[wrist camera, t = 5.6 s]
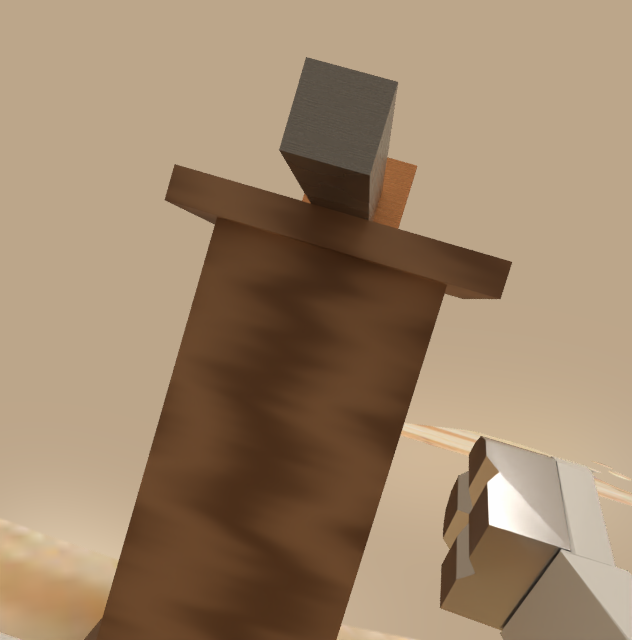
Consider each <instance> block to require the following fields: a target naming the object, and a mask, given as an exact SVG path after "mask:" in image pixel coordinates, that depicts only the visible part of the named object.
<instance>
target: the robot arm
mask: <svg viewBox="0 0 632 640" xmlns="http://www.w3.org/2000/svg"><path fill="white" fill-rule="evenodd" d="M443 539H444V541H445V542H446V544H447V546H448V547H449V549H450V550H449V552H448V554H447V556H446V558H445V560H444V562H443V564H442V569H441V597H440V608H441V609H444V610H447V611H449V612H452V613H455V614H458V615H460V616H463V617H466V618H469V619H472V620H474V621H477V622H480V623H482V624H485V625H488V626H491V627H493V628H496V629H499V630H502V631H501V633H500V634H501V636H502V638H503V640H632V575H631V574H630V573H629V572H628V571H627V570H623V569H621V568H618V567H616V564H615V560H614V556H613V552H612V548H611V545H610V540H609V537H608V533H607V529H606V525H605V521H604V517H603V513H602V509H601V505H600V501H599V497H598V493H597V489H596V485H595V481H594V477H593V473H592V472H591V470H590V469H589V468H588V467H587V466H584V465H580V464H577V463H573V462H570V461H566V460H562V459H559V458H555V457H548V456H546V455H542V454H539V453H536V452H532V451H529V450H526V449H522V448H519V447H516V446H512V445H509V444H506V443H503V442H499V441H496V440H493V439H489V438H486V437H483V436H481V437H480V438H479V439H478V440H477V441H476V443H475V444H474V446H473V448H472V450H471V452H470V454H469V471H468V472H466V473H464V474H461V475H459V476H458V478H457V480H456V482H455V484H454V487H453V489H452V491H451V494H450V497H449V501H448V504H447V507H446V512H445V519H444V528H443ZM0 640H21V639H19V638H16V637H13V636H10V635H7V634H5V633H2V632H0Z"/></svg>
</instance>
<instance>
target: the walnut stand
mask: <svg viewBox="0 0 632 640" xmlns="http://www.w3.org/2000/svg"><path fill="white" fill-rule="evenodd" d="M165 200H166V201H168V202H170V203H172V204H174V205H176V206H178V207H180V208H182V209H184V210H186V211H188V212H190V213H192V214H194V215H197V216H198V217H201V218H203V219H205V220H207V221H209V222H211V223H213V224H215V226H214V230H213V233H212V237H211V240H210V244H209V247H208V251H207V254H206V258H205V261H204V265H203V268H202V272H201V275H200V279H199V282H198V286H197V289H196V293H195V296H194V300H193V303H192V307H191V311H190V314H189V318H188V321H187V324H186V328H185V331H184V335H183V338H182V342H181V345H180V349H179V352H178V356H177V359H176V363H175V366H174V370H173V374H172V377H171V380H170V384H169V387H168V391H167V394H166V398H165V402H164V405H163V408H162V412H161V415H160V419H159V422H158V426H157V429H156V433H155V436H154V440H153V443H152V447H151V451H150V454H149V457H148V461H147V464H146V468H145V472H144V475H143V478H142V482H141V485H140V489H139V492H138V496H137V499H136V503H135V506H134V510H133V513H132V517H131V520H130V524H129V527H128V531H127V534H126V538H125V541H124V545H123V548H122V552H121V555H120V559H119V562H118V566H117V569H116V573H115V576H114V580H113V583H112V587H111V590H110V594H109V597H108V601H107V604H106V608H105V611H104V615H103V618H102V619H101V620H100V621H99V622H98V624H97V625H96V626H95V627H94V628H93V630H92V631H91V632H90V633H89V634H88V636H87V637H86V638H85V639H84V640H336V639H337V636H338V633H339V630H340V626H341V623H342V620H343V617H344V614H345V610H346V607H347V604H348V601H349V597H350V594H351V591H352V588H353V585H354V581H355V578H356V575H357V572H358V569H359V565H360V562H361V559H362V556H363V553H364V550H365V546H366V543H367V540H368V537H369V533H370V530H371V527H372V524H373V521H374V518H375V514H376V511H377V508H378V505H379V501H380V498H381V495H382V492H383V489H384V485H385V482H386V479H387V476H388V473H389V470H390V466H391V463H392V460H393V457H394V454H395V450H396V447H397V444H398V441H399V438H400V434H401V431H402V428H403V425H404V422H405V418H406V415H407V412H408V409H409V406H410V402H411V399H412V396H413V393H414V390H415V386H416V383H417V380H418V377H419V374H420V370H421V367H422V364H423V361H424V357H425V354H426V351H427V348H428V345H429V342H430V338H431V335H432V332H433V329H434V325H435V322H436V319H437V315H438V313H439V310H440V306H441V303H442V300H443V296H444V294H448V295H452V296H455V297H458V298H462V299H501V295H502V292H503V289H504V286H505V283H506V280H507V276H508V274H509V270H510V267H511V264H512V262H510V261H507V260H503V259H500V258H497V257H493V256H490V255H486V254H483V253H479V252H476V251H473V250H469V249H466V248H462V247H459V246H455V245H452V244H448V243H444V242H441V241H437V240H435V239H431V238H428V237H424V236H421V235H417V234H414V233H410V232H407V231H403V230H400V229H397V228H393V227H390V226H386V225H383V224H379V223H376V222H372V221H369V220H365V219H362V218H359V217H355V216H352V215H348V214H345V213H341V212H338V211H334V210H331V209H328V208H324V207H321V206H317V205H314V204H310V203H307V202H303V201H300V200H296V199H293V198H290V197H286V196H283V195H279V194H276V193H272V192H269V191H265V190H262V189H258V188H255V187H252V186H248V185H244V184H241V183H238V182H234V181H231V180H227V179H224V178H220V177H217V176H214V175H210V174H207V173H203V172H200V171H196V170H193V169H189V168H186V167H182V166H179V165H176V164H175V165H174V169H173V173H172V176H171V179H170V183H169V186H168V190H167V194H166V197H165Z"/></svg>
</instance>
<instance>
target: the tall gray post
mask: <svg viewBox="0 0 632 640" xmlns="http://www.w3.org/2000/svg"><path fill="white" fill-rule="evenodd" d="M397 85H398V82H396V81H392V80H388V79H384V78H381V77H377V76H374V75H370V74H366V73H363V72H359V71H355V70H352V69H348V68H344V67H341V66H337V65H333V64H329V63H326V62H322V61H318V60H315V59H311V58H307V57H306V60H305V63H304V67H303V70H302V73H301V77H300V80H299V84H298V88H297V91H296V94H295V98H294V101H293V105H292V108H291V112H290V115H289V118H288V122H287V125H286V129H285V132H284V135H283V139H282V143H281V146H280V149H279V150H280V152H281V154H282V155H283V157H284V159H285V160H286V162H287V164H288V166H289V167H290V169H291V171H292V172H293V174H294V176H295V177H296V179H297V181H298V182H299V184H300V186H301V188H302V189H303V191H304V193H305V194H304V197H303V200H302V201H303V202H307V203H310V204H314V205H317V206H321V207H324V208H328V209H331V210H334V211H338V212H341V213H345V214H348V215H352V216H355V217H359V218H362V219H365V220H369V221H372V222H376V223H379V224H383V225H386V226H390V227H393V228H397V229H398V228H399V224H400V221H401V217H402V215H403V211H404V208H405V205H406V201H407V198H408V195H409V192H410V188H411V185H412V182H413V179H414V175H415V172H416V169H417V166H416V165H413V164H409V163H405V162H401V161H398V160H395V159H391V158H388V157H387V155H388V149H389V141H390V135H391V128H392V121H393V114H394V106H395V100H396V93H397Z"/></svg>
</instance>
